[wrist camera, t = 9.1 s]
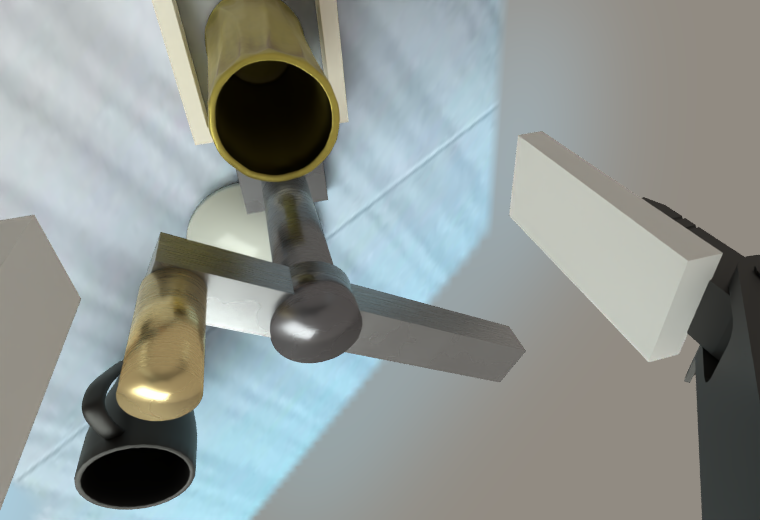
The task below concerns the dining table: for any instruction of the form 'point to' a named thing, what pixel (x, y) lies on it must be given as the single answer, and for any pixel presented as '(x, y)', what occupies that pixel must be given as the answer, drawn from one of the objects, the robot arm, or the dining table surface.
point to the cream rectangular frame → (188, 79)
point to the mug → (132, 452)
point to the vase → (267, 92)
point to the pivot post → (290, 215)
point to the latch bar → (283, 324)
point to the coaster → (230, 224)
